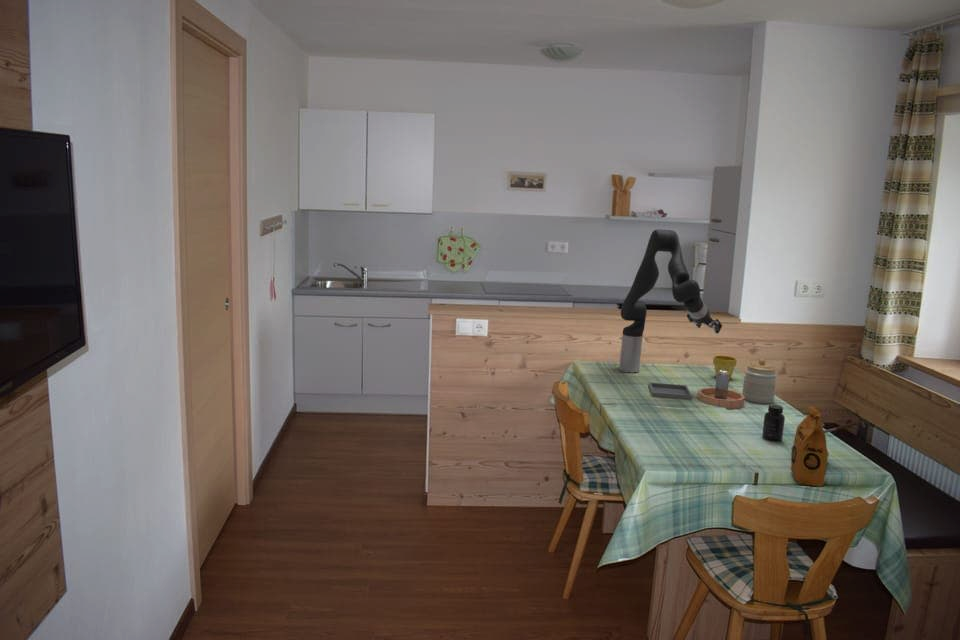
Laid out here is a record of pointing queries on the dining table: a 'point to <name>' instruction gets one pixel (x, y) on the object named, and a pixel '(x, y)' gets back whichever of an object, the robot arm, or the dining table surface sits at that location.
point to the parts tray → (670, 391)
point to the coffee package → (810, 451)
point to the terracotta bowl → (732, 401)
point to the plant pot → (724, 364)
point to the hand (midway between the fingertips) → (708, 328)
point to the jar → (759, 382)
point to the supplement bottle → (773, 423)
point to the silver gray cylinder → (722, 385)
